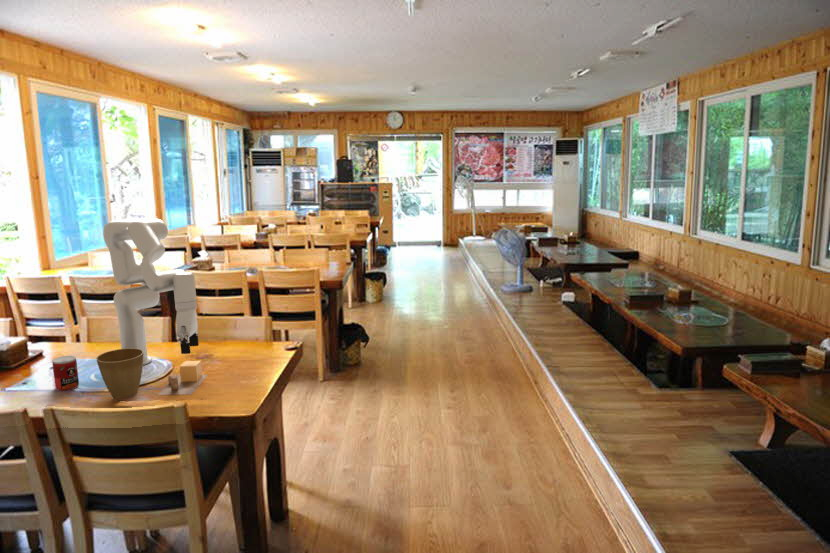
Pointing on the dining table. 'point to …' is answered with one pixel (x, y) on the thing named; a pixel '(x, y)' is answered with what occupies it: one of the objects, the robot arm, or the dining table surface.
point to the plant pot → (121, 371)
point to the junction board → (180, 386)
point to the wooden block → (190, 371)
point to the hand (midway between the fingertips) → (190, 349)
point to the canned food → (65, 372)
